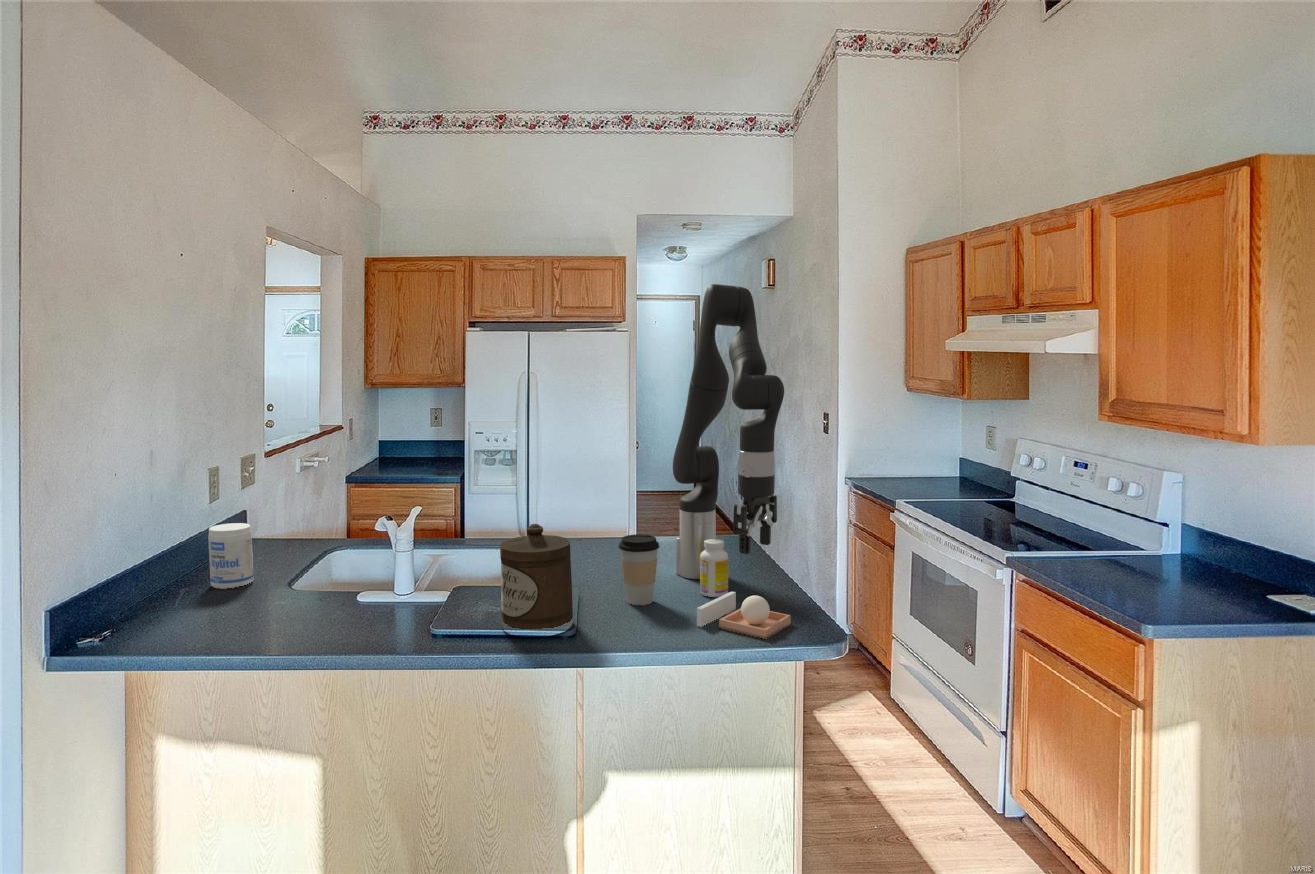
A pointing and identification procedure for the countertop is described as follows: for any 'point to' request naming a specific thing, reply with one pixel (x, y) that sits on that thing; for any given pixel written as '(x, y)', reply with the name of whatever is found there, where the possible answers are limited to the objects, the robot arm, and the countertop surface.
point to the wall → (716, 608)
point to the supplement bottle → (714, 569)
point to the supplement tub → (230, 555)
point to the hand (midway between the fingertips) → (755, 548)
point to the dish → (762, 630)
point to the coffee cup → (639, 567)
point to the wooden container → (536, 580)
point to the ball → (755, 610)
